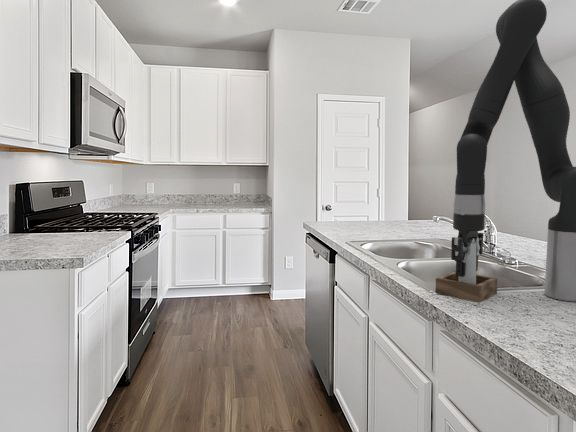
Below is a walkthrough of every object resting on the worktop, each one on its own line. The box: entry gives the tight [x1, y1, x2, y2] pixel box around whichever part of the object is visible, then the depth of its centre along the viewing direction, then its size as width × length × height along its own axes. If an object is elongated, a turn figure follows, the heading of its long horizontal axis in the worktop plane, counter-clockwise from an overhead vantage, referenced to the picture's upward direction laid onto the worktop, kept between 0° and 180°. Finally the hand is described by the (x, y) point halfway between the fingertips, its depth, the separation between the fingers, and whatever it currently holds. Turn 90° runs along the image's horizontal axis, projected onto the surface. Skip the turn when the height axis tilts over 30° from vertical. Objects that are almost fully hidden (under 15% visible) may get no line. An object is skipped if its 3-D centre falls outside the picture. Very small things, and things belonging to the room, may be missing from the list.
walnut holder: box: [434, 270, 498, 303], centre depth 107 cm, size 11×11×4 cm
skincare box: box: [459, 242, 477, 285], centre depth 106 cm, size 6×4×12 cm
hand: (466, 273), depth 107 cm, fingers closed on skincare box, 7 cm apart
